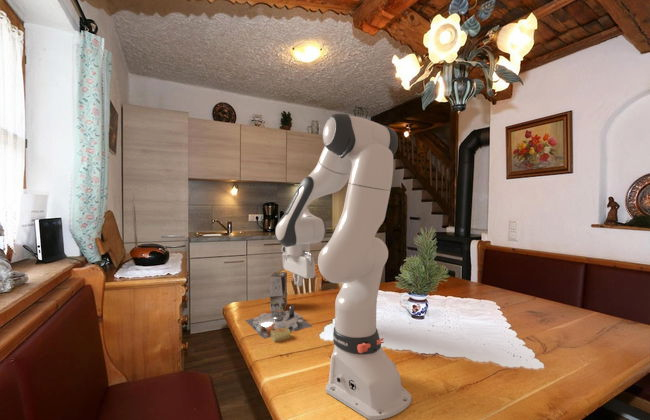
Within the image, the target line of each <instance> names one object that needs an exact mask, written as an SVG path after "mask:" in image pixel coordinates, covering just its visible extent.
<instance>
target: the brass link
mask: <svg viewBox="0 0 650 420" xmlns="http://www.w3.org/2000/svg"><path fill="white" fill-rule="evenodd" d="M290 338H291V332H290V329H288V328H287V327H284V328H279V329H276V330H272V331H271V337H270V340H271V341H272V342H273V343H276V342H280V341H281V342H282V341H284V340H288V339H290Z"/></svg>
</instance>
